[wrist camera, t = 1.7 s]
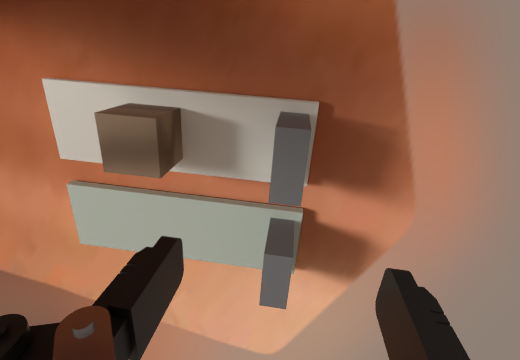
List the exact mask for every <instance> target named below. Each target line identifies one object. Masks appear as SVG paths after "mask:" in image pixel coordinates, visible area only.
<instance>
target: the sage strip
mask: <svg viewBox="0 0 520 360" xmlns="http://www.w3.org/2000/svg"><path fill="white" fill-rule="evenodd" d="M67 189H68V193H69V197H70V201H71V206H72V210H73V214H74V218H75V223H76V227H77V231H78V236H79V240H80V244H87V245H94V246H101V247H109V248H116V249H123V250H130V251H137V252H139V251H141V250H142V249H144V248H145V247H153V246H154V245H155V244H156V242H157V241H158V240H159V238H160V237H161V236H168V237H175V238H181V239H182V244H183V258H186V259H193V260H200V261H207V262H214V263H221V264H228V265H236V266H243V267H250V268H257V269H263V271H262V282H261V293H260V304H259V305H262V306H268V307H275V308H281V309H286V305H287V298H288V291H289V284H290V277H291V273H292V274H294V270H295V263H296V256H297V250H298V243H299V236H300V230H301V223H302V216H303V208H297V207H288V206H280V205H272V204H264V203H255V202H247V201H239V200H231V199H222V198H214V197H206V196H197V195H189V194H181V193H173V192H164V191H156V190H148V189H140V188H131V187H123V186H115V185H106V184H98V183H90V182H82V181H71V182H69V183H68V184H67Z"/></svg>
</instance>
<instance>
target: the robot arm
mask: <svg viewBox="0 0 520 360" xmlns="http://www.w3.org/2000/svg"><path fill="white" fill-rule="evenodd" d="M183 271H184V264H183V244H182V239H181V238H175V237H168V236H161V237H160V238H159V240H158V241H157V242H156V244H155V245H154V246H153V247H145V248H144V249H142V250H141V251H139V252H137V253H136V254H135V255H134V256H133V257H132V258H131V259H130V261H129V262H128V263H127V265H126V266H125V267H124V268H123V269H122V270H121V271H120V274H118V275H117V276H116V277H115V279H114V280H113V281H112V282H111V283H110V285H109V286H108V287H107V288H106V289H105V291H104V292H103V293H102V294H101V295H100V297H99V298H98V299H97V300H96V301H95V303H94V304H93V305H92V306H88V307H84V308H81V309H78V310H76V311H74V312H73V313H71V314H69V315H68V316H67V317H66V318H64V319H63V320H62V321H61V322H60V323H53V324H46V325H38V326H30V327H29V325H28V322H27V320H26V318H25V317H24V316H22V315H19V314H8V315H3V316H0V360H128V359H129V360H140V359H141V357H142V355H143V353H144V351H145V349H146V348H147V345H148V344H149V342H150V340H151V338H152V336H153V334H154V332H155V330H156V329H157V327H158V325H159V323H160V321H161V319H162V317H163V315H164V313H165V312H166V310H167V308H168V306H169V304H170V302H171V300H172V298H173V296H174V295H175V293H176V291H177V289H178V287H179V285H180V283H181V280H182V277H183ZM376 315H377V319H378V322H379V326H380V329H381V332H382V336H383V339H384V343H385V346H386V349H387V353H388V356H389V360H470V359H469V357H468V355H467V353H466V351H465V350H464V348H463V346H462V344H461V342H460V341H459V339H458V337H457V335H456V333H455V332H454V330H453V328H452V327H451V326H450V323H449V321H448V319H447V317H446V316H445V315H444V312H443V310H442V308H441V307H440V305H439V303H438V301H437V299H436V298H434V296H432V294H430V293H429V292H428V291H427V290H426V289H425V288H424V287H418V286H417V284H416V282H415V280H414V278H413V276H412V274H411V273H410V272H409V271H405V270H399V269H391V268H387V269H386V270H385V273H384V276H383V279H382V282H381V285H380V288H379V291H378V294H377V298H376Z"/></svg>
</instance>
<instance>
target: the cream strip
mask: <svg viewBox="0 0 520 360" xmlns="http://www.w3.org/2000/svg"><path fill="white" fill-rule="evenodd" d="M42 82H43V86H44V90H45V94H46V99H47V103H48V107H49V111H50V116H51V120H52V124H53V129H54V133H55V137H56V141H57V146H58V150H59V154H60V158H61V159H69V160H78V161H87V162H96V163H103V161H102V156H101V150H100V144H99V138H98V132H97V126H96V120H95V114H94V113H95V112H98V111H102V110H106V109H109V108H113V107H116V106H120V105H123V104H127V103H135V104H146V105H157V106H168V107H178V108H180V109H181V130H182V151H183V159H182V160H181V161H180V162H178V163H177V164H176V165H175V166H174V167H173V168H172V169H171V170H169V171H175V172H184V173H192V174H201V175H210V176H219V177H227V178H236V179H245V180H254V181H263V182H270V193H269V203H277V204H286V205H294V206H301V200H302V193H303V186H306V187H307V182H308V176H309V169H310V162H311V156H312V149H313V142H314V135H315V129H316V122H317V115H318V108H319V101H309V100H297V99H286V98H274V97H263V96H251V95H240V94H228V93H217V92H205V91H194V90H182V89H171V88H159V87H148V86H136V85H125V84H113V83H102V82H90V81H79V80H67V79H56V78H45V79H42Z"/></svg>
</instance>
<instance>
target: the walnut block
mask: <svg viewBox="0 0 520 360" xmlns="http://www.w3.org/2000/svg"><path fill="white" fill-rule="evenodd" d="M94 114H95V120H96V126H97V132H98V138H99V144H100V150H101V156H102V161H103V167H104V172H110V173H119V174H128V175H136V176H145V177H153V178H161V177H163V176H164V175H165V174H166V173H167V172H168V171H169V170H171V169H172V168H173V167H174V166H175V165H176V164H177V163H178V162H180V161H181V160H182V159H183V151H182V130H181V109H180V108H178V107H168V106H157V105H146V104H135V103H127V104H123V105H120V106H116V107H113V108H109V109H106V110H102V111H98V112H95V113H94Z"/></svg>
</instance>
